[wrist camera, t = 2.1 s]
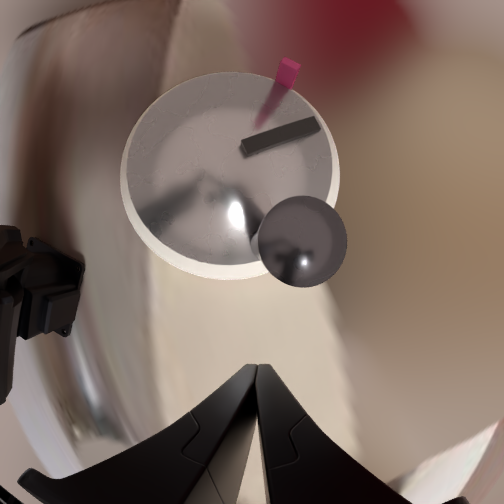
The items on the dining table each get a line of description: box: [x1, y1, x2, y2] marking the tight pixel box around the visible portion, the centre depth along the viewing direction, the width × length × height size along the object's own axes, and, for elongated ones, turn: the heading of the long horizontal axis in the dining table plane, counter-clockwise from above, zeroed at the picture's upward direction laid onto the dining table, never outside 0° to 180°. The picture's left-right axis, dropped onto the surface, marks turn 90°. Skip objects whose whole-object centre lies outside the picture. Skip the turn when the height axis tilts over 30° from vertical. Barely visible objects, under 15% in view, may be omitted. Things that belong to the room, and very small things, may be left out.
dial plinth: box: [120, 57, 340, 280], centre depth 17 cm, size 15×15×5 cm
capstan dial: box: [127, 72, 347, 287], centre depth 12 cm, size 13×14×10 cm
